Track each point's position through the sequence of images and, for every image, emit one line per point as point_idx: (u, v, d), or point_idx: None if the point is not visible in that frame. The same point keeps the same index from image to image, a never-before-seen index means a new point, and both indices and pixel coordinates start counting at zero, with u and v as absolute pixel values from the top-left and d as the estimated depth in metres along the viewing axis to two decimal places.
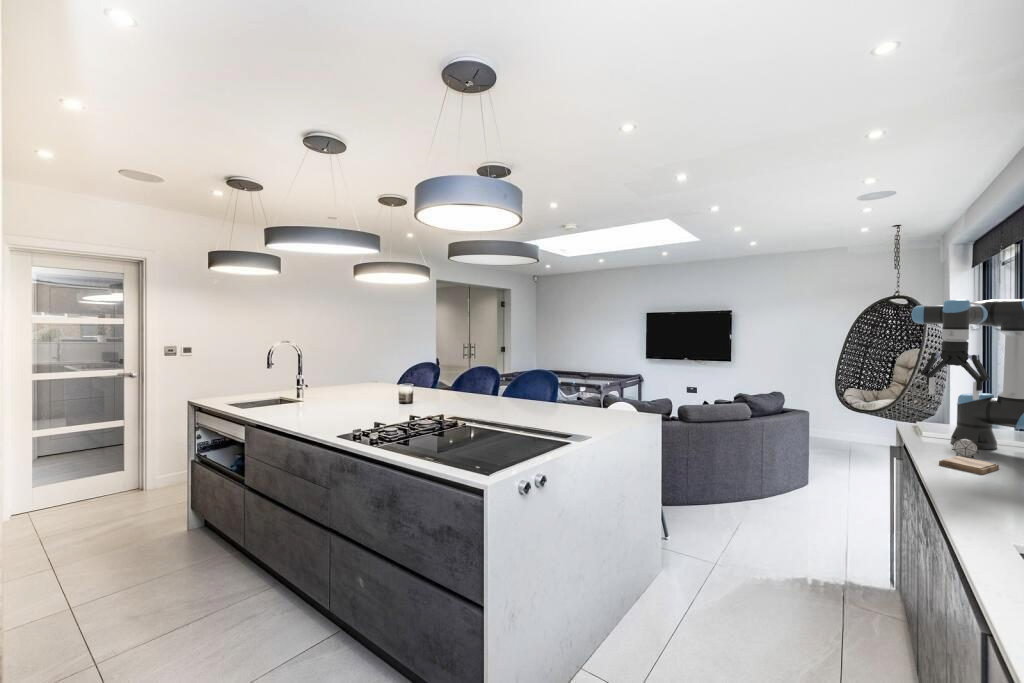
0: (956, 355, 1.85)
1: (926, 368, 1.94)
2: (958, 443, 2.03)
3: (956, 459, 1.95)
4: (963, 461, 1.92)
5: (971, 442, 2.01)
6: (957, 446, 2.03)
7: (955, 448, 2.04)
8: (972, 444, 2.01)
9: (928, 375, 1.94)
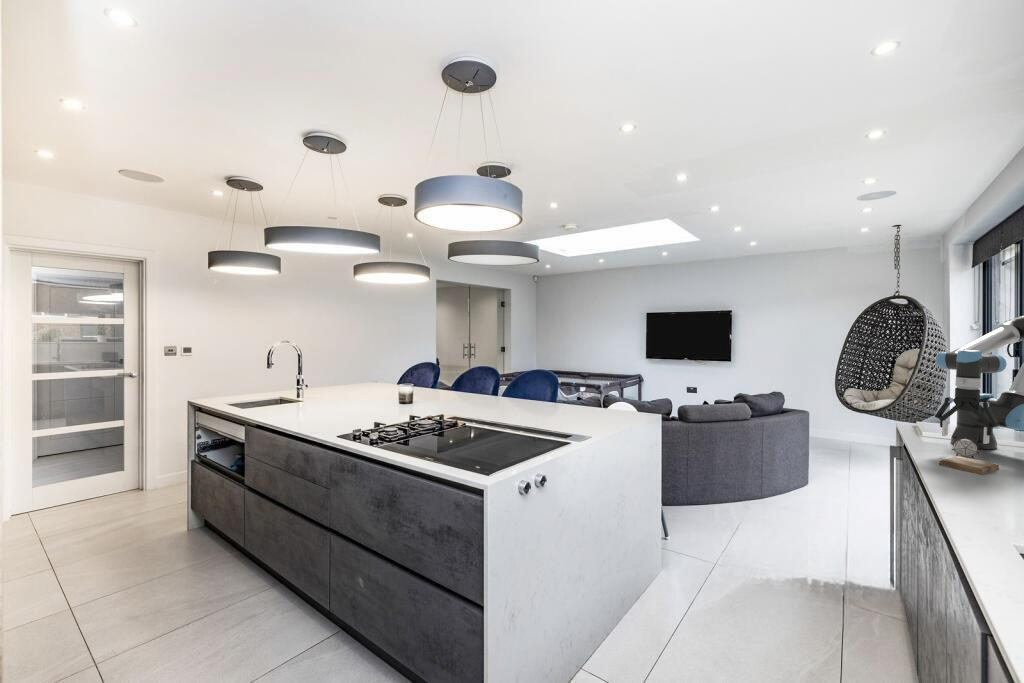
0: (968, 401, 2.01)
1: (940, 411, 2.10)
2: (958, 443, 2.03)
3: (956, 459, 1.95)
4: (963, 461, 1.92)
5: (971, 442, 2.01)
6: (957, 446, 2.03)
7: (955, 448, 2.04)
8: (972, 444, 2.01)
9: (942, 418, 2.09)
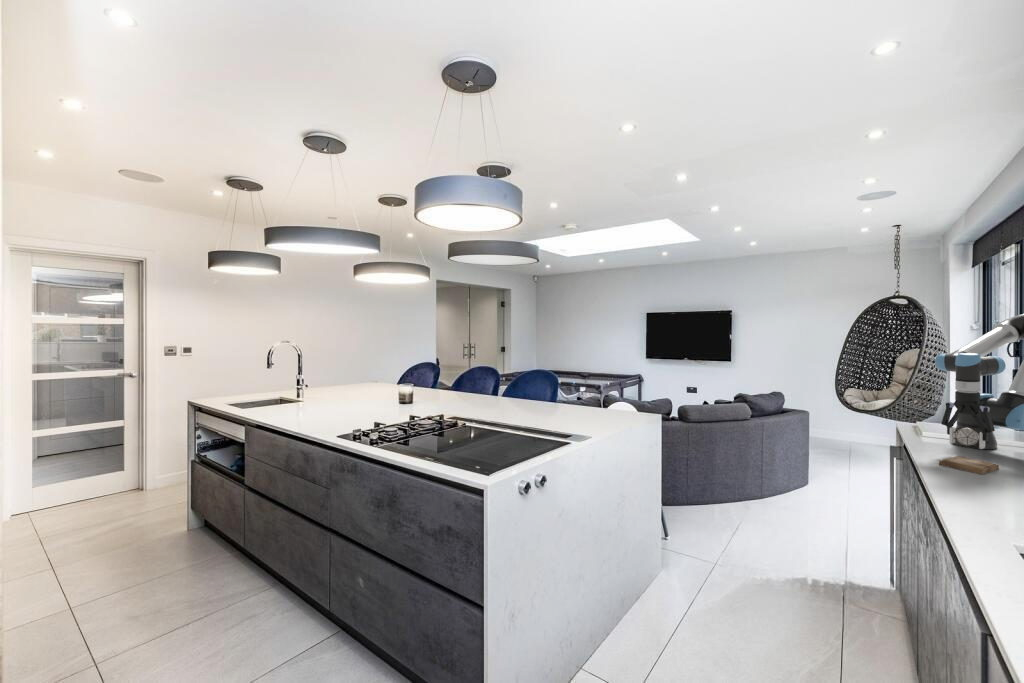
0: (969, 404, 2.01)
1: (945, 418, 2.09)
2: (960, 432, 2.03)
3: (956, 459, 1.95)
4: (963, 461, 1.92)
5: (973, 431, 2.01)
6: (959, 435, 2.03)
7: (957, 437, 2.04)
8: (974, 432, 2.01)
9: (948, 425, 2.08)
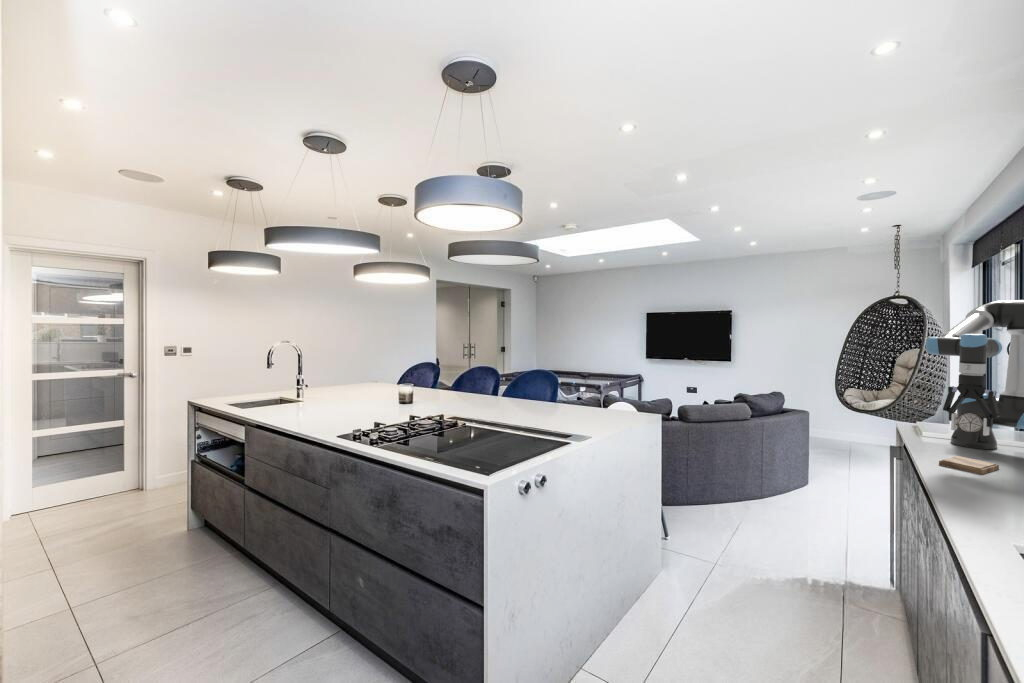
0: (973, 387, 1.88)
1: (947, 403, 1.96)
2: (962, 417, 1.90)
3: (956, 459, 1.95)
4: (963, 461, 1.92)
5: (976, 416, 1.88)
6: (961, 421, 1.91)
7: (959, 423, 1.91)
8: (977, 418, 1.88)
9: (950, 411, 1.95)
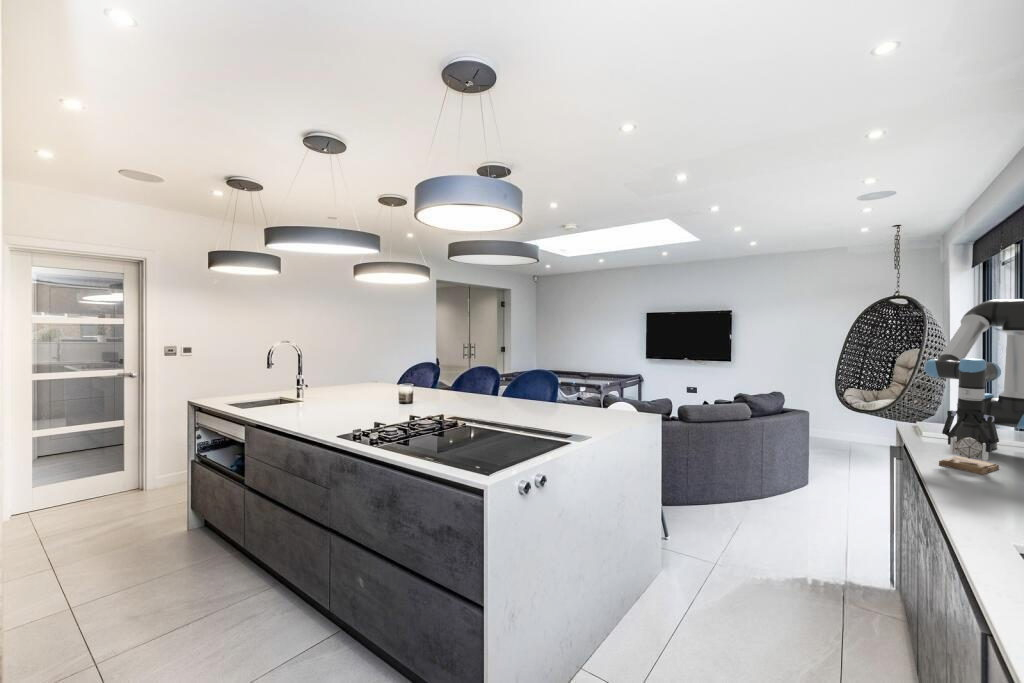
0: (973, 412, 1.89)
1: (946, 427, 1.96)
2: (961, 442, 1.91)
3: (956, 459, 1.95)
4: (963, 461, 1.92)
5: (975, 441, 1.89)
6: (960, 445, 1.91)
7: (958, 447, 1.92)
8: (976, 443, 1.88)
9: (949, 435, 1.96)
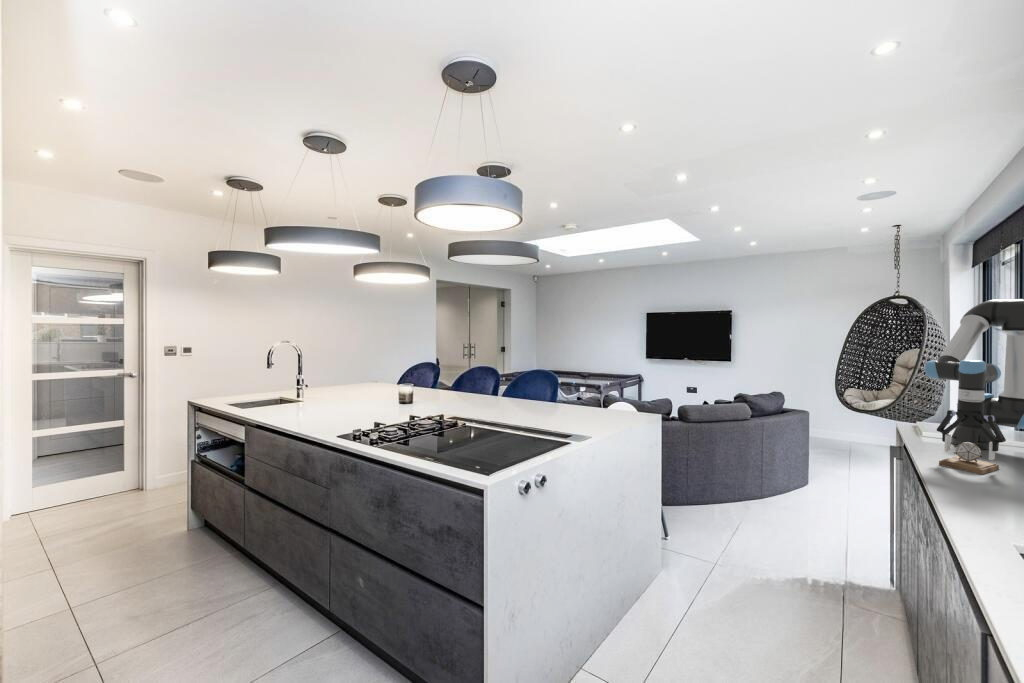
0: (972, 415, 1.89)
1: (942, 425, 1.98)
2: (960, 446, 1.92)
3: (956, 459, 1.95)
4: (963, 461, 1.92)
5: (974, 445, 1.89)
6: (959, 449, 1.92)
7: (957, 452, 1.92)
8: (975, 447, 1.89)
9: (944, 432, 1.97)
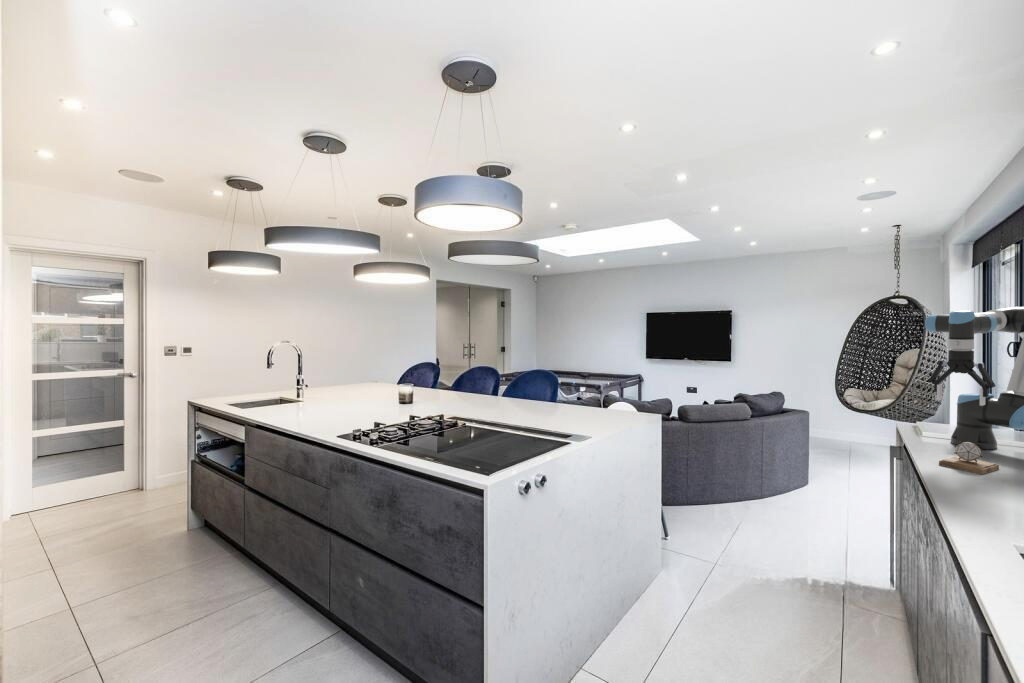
0: (963, 363, 1.96)
1: (934, 376, 2.05)
2: (960, 446, 1.92)
3: (956, 459, 1.95)
4: (963, 461, 1.92)
5: (974, 445, 1.89)
6: (959, 449, 1.92)
7: (957, 452, 1.92)
8: (975, 447, 1.89)
9: (936, 382, 2.04)
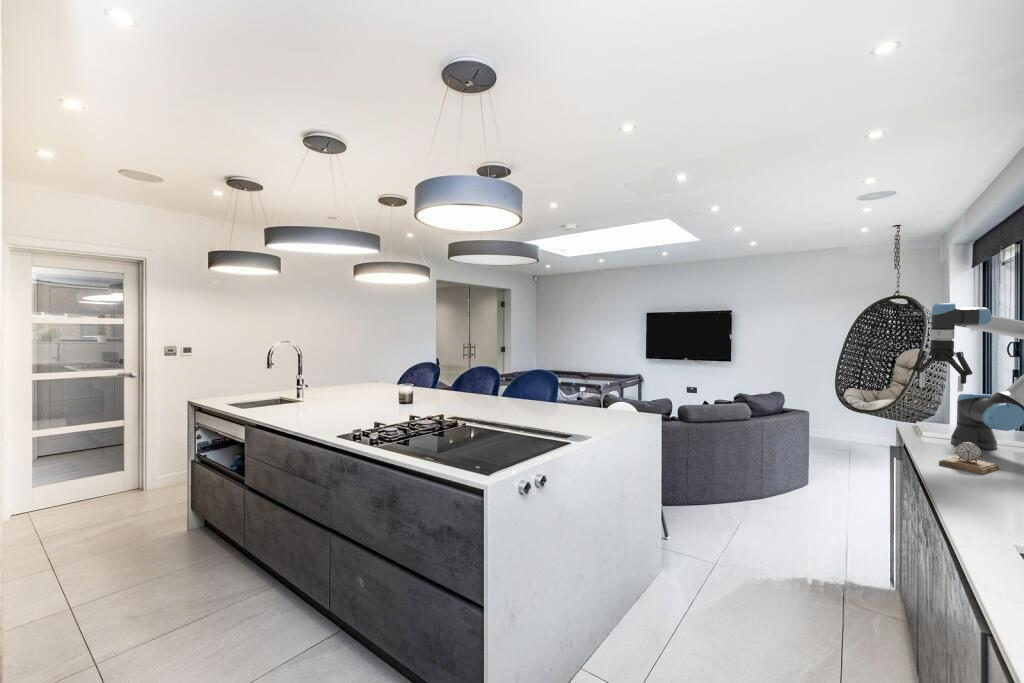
0: (943, 352, 2.10)
1: (917, 364, 2.18)
2: (960, 446, 1.91)
3: (956, 459, 1.95)
4: (963, 461, 1.92)
5: (974, 445, 1.89)
6: (959, 449, 1.92)
7: (957, 452, 1.92)
8: (975, 447, 1.89)
9: (919, 370, 2.18)
